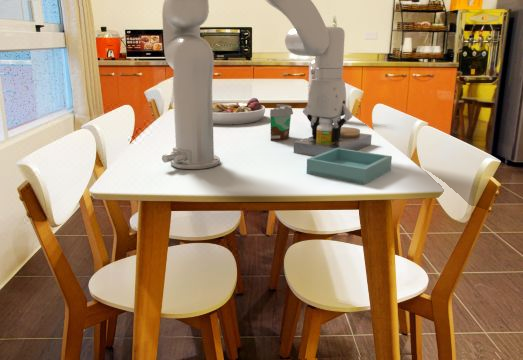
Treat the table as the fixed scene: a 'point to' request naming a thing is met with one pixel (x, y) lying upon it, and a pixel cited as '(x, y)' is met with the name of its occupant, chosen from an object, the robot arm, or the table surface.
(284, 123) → the food container
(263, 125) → the table surface
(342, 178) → the tray
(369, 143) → the bracket
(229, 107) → the bowl
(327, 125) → the supplement bottle
